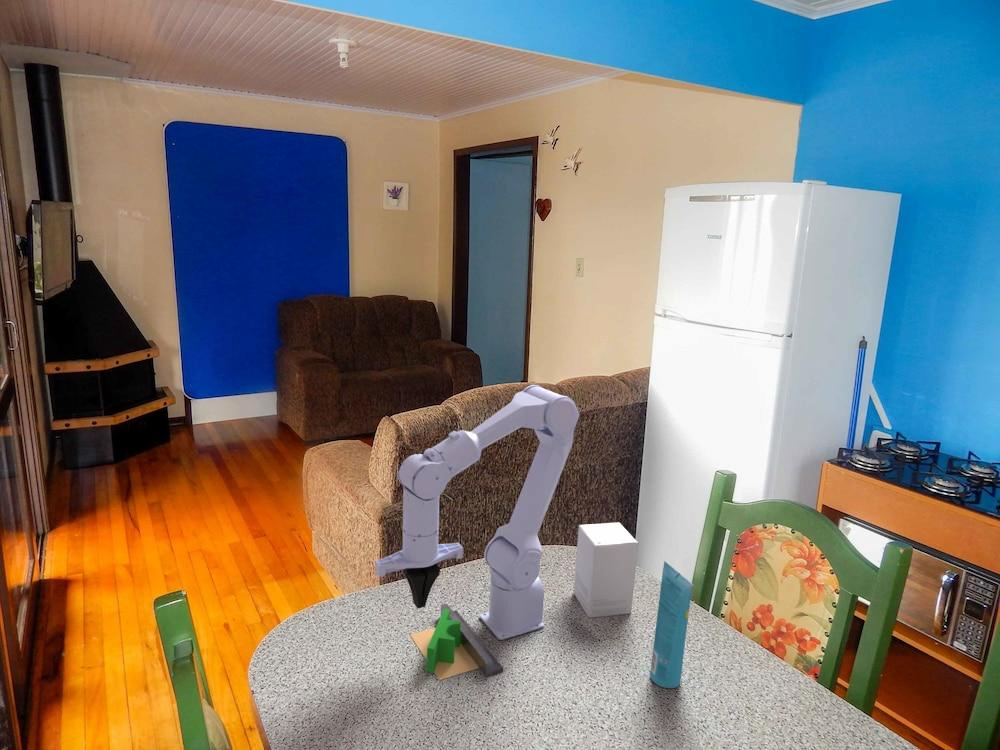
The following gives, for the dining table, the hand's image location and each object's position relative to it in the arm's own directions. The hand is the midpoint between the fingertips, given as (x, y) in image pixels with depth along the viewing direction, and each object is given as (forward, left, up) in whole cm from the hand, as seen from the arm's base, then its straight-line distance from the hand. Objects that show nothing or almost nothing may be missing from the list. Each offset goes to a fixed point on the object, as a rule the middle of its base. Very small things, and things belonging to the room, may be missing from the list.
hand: (419, 604), depth 107 cm
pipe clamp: (-4, +2, -10) cm, 11 cm away
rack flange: (-6, +1, -9) cm, 11 cm away
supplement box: (-38, +1, -10) cm, 39 cm away
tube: (-34, +23, -10) cm, 42 cm away
